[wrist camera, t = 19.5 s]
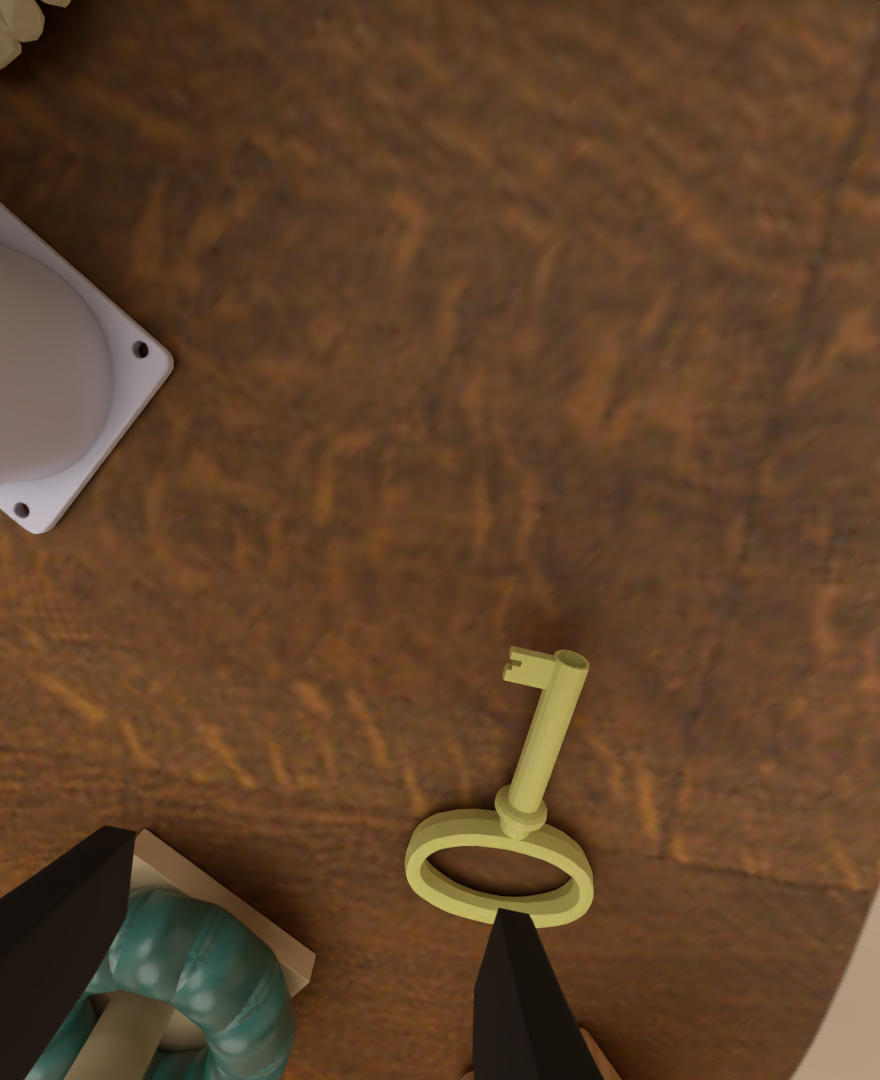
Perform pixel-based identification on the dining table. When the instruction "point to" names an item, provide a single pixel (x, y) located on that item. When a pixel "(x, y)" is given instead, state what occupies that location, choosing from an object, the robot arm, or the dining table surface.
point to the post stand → (149, 1024)
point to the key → (516, 809)
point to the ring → (190, 991)
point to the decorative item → (602, 1062)
